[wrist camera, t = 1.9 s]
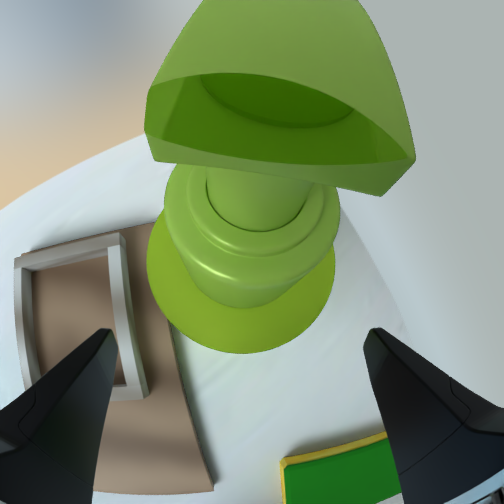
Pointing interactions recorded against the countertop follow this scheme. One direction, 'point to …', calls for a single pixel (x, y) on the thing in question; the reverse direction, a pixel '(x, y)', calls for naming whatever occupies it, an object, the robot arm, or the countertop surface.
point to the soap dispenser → (266, 162)
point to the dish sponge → (342, 474)
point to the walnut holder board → (128, 359)
